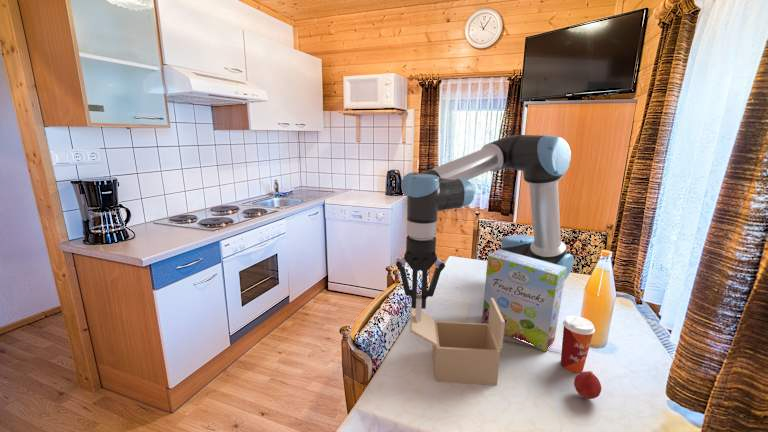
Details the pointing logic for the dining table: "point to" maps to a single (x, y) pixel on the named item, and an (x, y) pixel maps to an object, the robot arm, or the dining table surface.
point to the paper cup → (576, 343)
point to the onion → (587, 385)
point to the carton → (465, 353)
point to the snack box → (525, 296)
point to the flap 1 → (423, 327)
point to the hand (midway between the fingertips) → (418, 318)
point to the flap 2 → (496, 323)
